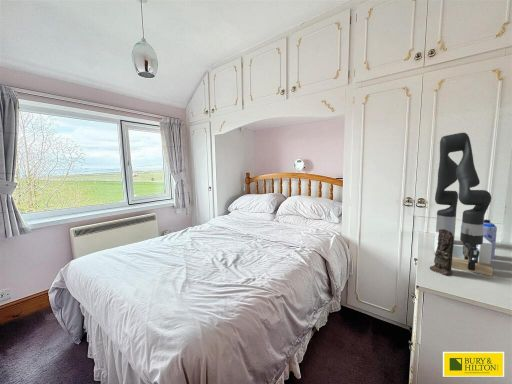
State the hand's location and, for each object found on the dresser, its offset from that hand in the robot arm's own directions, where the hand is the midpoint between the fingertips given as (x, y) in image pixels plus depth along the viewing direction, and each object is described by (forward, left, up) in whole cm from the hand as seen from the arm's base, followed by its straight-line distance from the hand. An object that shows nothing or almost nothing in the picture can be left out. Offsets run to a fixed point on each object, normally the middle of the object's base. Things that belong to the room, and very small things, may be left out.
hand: (469, 267), depth 102 cm
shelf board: (0, 0, -1) cm, 1 cm away
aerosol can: (-23, +11, -1) cm, 26 cm away
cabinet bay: (-12, -1, -1) cm, 12 cm away
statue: (+9, -11, -1) cm, 14 cm away
